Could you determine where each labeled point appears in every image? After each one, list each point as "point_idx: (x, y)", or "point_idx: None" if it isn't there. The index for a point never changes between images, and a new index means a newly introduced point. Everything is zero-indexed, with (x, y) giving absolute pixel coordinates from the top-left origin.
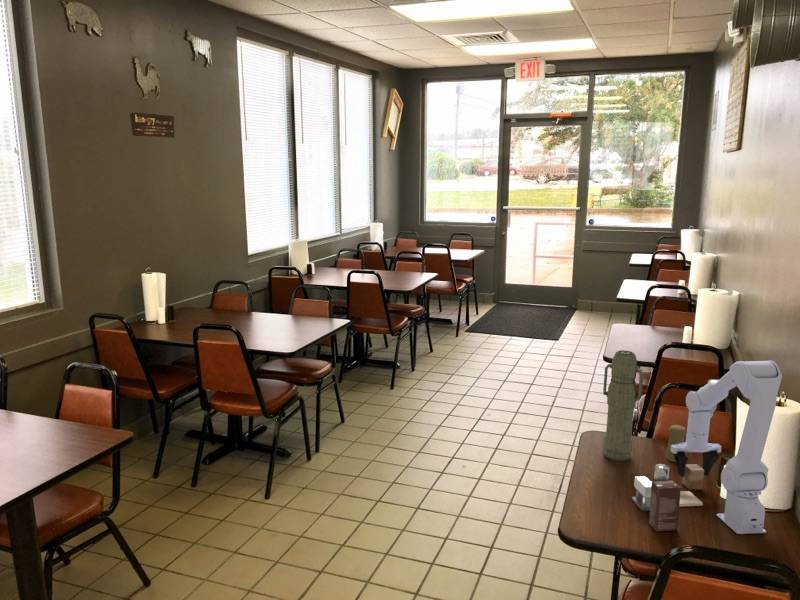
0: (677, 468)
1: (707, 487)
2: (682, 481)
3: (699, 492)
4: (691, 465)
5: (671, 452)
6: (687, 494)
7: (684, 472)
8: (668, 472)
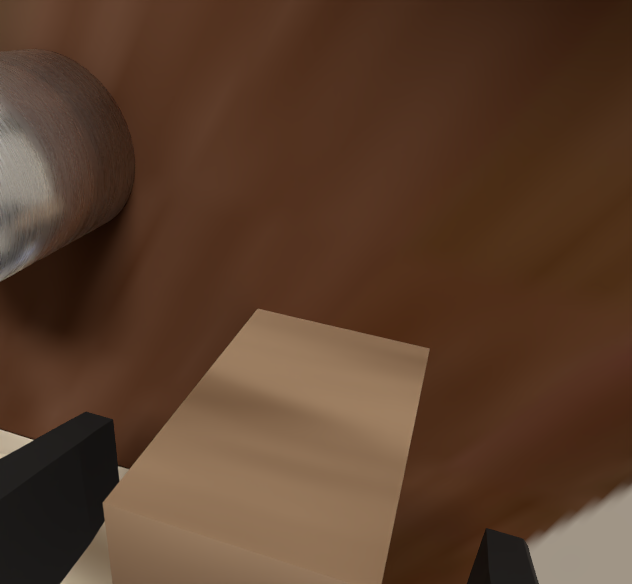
0: (12, 457)
1: (496, 479)
2: (247, 326)
3: None
4: (227, 578)
5: None
6: None
7: (71, 565)
8: (18, 271)
